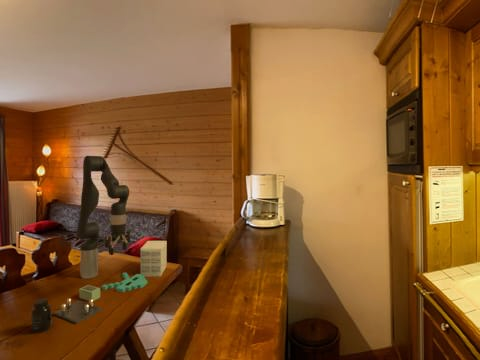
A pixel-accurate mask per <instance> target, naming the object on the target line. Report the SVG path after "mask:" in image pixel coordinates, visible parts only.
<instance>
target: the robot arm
mask: <svg viewBox="0 0 480 360" xmlns="http://www.w3.org/2000/svg"><path fill="white" fill-rule="evenodd" d="M82 163H83V164H82V189H81V196H80V197H81V198H80V199H81V200H80V211H79V218H78V223H77V227H76V228H77V231H76V233H77V237H78V238H79V239H80V240H85V239H87V240H86V241H84V242H83V243H81V245H80V261H79V276H80V277H81V279H84V280H85V279H86V280H87V279H91V278H95V277H97V276H98V275H99V253H98V252H99V249H98V248H99V247H98V245H99V237H100V236H99V235H100V227H99V225H98V223H97V222H96V221H93V222H88V221H89V218H90V216H91V215H92V214H93V212H94V211H95V209H96V208H97V207H98V204H99V200H100V199H99V198H100V192H99V189H98V188H97V186H96V185H95V182H94V181H93V178H92V172H98V173H99V172H101V175H100V180H101V183H102V184H103V185H104V187H105V189H106V193H107V196H108V198H110V199H113V200H117V199H119V200H118V201H117V202H114V203H112V204H111V206H110V210H111V211H110V235H105V240H104V241H105V242H104V243H105V245H104V247H105V248H108V254H109V255H110V256H113V255H114V252H115V251H114V246H115V245H117V243H119V242H122V244H121V245H122V248H121V249H122V251H126V250H127V248H128V243H129V242H130V241H131V233H130V232H131V231H130V230H127V214H126V209H127V208H126V207H127V203H128V199H129V196H130V188H129V186H127V185H126V184H121V185H120V182H119V180H118V178H117V177H116V176H115V175H114V174H113V172H112V171H111V168H110V166H109V164H108V163H107V161H106V158H104V157H103V156H100V155H85V156H84V158H83V162H82Z"/></svg>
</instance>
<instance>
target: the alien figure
mask: <svg viewBox="0 0 480 360" xmlns="http://www.w3.org/2000/svg"><path fill="white" fill-rule="evenodd" d="M121 277H122V279H123V280H122V281H120V282H118V281H116V282H115V283H109V284H103V285H101V290H103V291H106V290H107V289H110V290H111V289H113V288H115V291H116V292H118V293H119V292H120V293H125V292H126V291H128V292H130V291H131V290H136V289H142V288H143V287H145V285H147V284H148V280H147V279H146V278H145V277H146V276H143V275H142V274H141V273H136V274H135V275H133V276H132V277H130V276H129V274H128V272H123V273H121Z"/></svg>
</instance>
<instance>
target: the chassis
mask: <svg viewBox="0 0 480 360" xmlns="http://www.w3.org/2000/svg"><path fill="white" fill-rule="evenodd" d="M101 311H102V307H99V306H96V305H94V301H93V299H89V301H88V303H87V302H84V301H81V300H77V301H75V302H73V303H72V298H71V297H67V299H66V303H65V302H64V303H62V304H61V308H59V309H58V310H55V311H53V315H54V316H56V317H58V318H61V319H63V320H66V321H68V322H71V323H73V324H76V325H77V324H79V323H81V322H83V321H85V320H86V318H87V319H88V318H90V317H92V316H94V315H96V314H97V313H99V312H101Z"/></svg>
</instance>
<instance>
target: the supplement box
mask: <svg viewBox="0 0 480 360" xmlns="http://www.w3.org/2000/svg"><path fill="white" fill-rule="evenodd" d="M167 242H168V241H167V240H147V241H146V242H145V243H144V244H143V246H141V247H140V274H142V275H143V276H145V277H161V276H162V275H163V273H164V271H165V269H166V268H167V258H168V257H167V256H168V254H167V246H168V245H167V244H168V243H167Z"/></svg>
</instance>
